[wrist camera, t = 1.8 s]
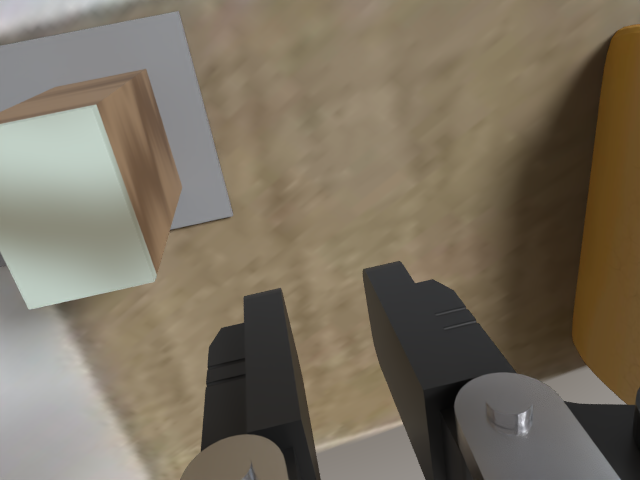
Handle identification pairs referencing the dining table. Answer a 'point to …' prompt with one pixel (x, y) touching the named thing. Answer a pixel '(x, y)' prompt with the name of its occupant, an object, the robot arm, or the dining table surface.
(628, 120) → the bread
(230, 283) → the dining table surface
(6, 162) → the block
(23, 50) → the mat
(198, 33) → the dining table surface
